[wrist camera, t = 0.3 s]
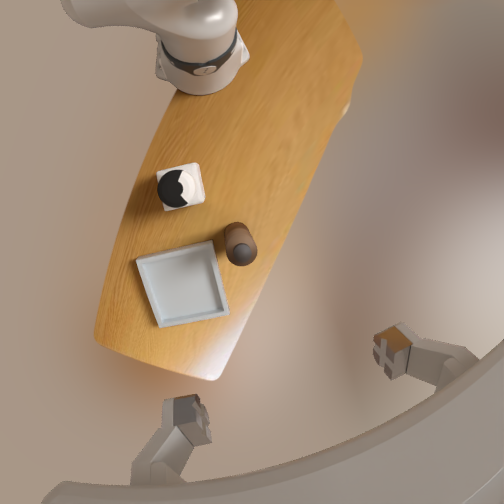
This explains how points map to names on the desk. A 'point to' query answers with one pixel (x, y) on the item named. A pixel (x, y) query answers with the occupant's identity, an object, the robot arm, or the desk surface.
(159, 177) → the medicine bottle
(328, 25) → the desk surface
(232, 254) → the walnut pepper mill
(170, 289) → the pale dish
